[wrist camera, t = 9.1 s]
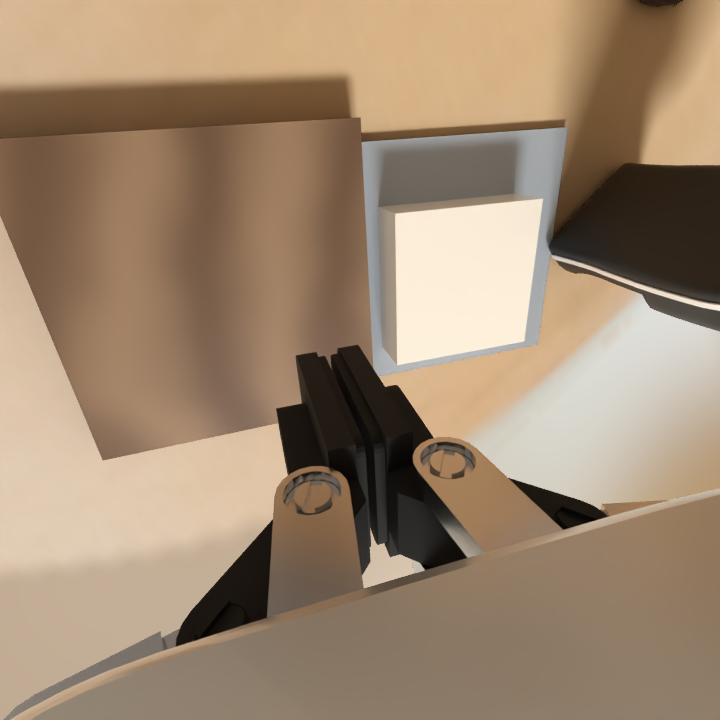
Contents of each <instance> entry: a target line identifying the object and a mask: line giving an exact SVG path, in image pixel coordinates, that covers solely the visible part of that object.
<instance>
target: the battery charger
mask: <svg viewBox="0 0 720 720" xmlns="http://www.w3.org/2000/svg"><path fill="white" fill-rule="evenodd" d="M549 250H550V255H551V256H552V258H553V259H555V260H556V261H557V262H558V264H559V265H560V266H561V267H562V268H563V269H565V270H567V271H569V272H572V273H575V274H576V273H584V274H589V275H593V276H596V277H599V278H602V279H604V280H607V281H609V282H611V283H614V284H616V285H619V286H622V287H624V288H627V289H629V290H632V291H635V292H637V293H640V294H642V295H643V297H644V299H645V301H646V302H647V304H648V305H649V306H650V308H652V309H654V310H656V311H659V312H662V313H664V314H667V315H670V316H673V317H676V318H679V319H682V320H685V321H688V322H691V323H694V324H697V325H700V326H704V327H707V328H710V329H714V330H717V331H720V165H683V166H675V165H649V164H634V163H626V164H623V165H622V166H621V167H620V168H619V169H618V170H617V171H616V172H615V173H614V174H613V175H612V176H611V177H610V178H609V179H608V180H607V181H606V182H605V183H604V184H603V185H602V187H601V188H600V189H599V190H598V191H597V192H596V193H595V194H594V195H593V196H592V197H591V198H590V199H589V200H588V201H587V202H586V203H585V204H584V205H583V206H582V208H581V209H580V210H579V211H578V212H577V213H576V214H575V215H574V216H573V217H572V219H571V220H570V221H569V222H568V223H567V224H566V225H565V226H564V227H563V229H562V230H561V231H560V232H559V233H558V234H557V235H556V237H555V238H554V239H553V240H552V241H551V242H550V244H549Z"/></svg>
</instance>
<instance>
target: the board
mask: <svg viewBox="0 0 720 720" xmlns="http://www.w3.org/2000/svg"><path fill="white" fill-rule="evenodd" d="M0 216H1V218H2V221H3V223H4V226H5V228H6V230H7V233H8V235H9V238H10V240H11V242H12V245H13V247H14V249H15V252H16V254H17V257H18V259H19V261H20V264H21V266H22V269H23V271H24V273H25V276H26V278H27V280H28V283H29V285H30V288H31V290H32V292H33V295H34V297H35V300H36V302H37V304H38V307H39V309H40V311H41V314H42V316H43V319H44V321H45V323H46V326H47V328H48V331H49V333H50V335H51V338H52V340H53V342H54V345H55V347H56V350H57V352H58V354H59V357H60V359H61V362H62V364H63V366H64V369H65V371H66V374H67V376H68V378H69V381H70V383H71V385H72V388H73V390H74V393H75V395H76V397H77V400H78V402H79V405H80V407H81V409H82V412H83V414H84V416H85V419H86V421H87V424H88V426H89V428H90V431H91V433H92V436H93V438H94V440H95V443H96V445H97V447H98V450H99V452H100V455H101V457H102V459H103V460H107V459H112V458H117V457H121V456H126V455H131V454H135V453H140V452H145V451H149V450H154V449H159V448H163V447H168V446H173V445H177V444H182V443H187V442H191V441H196V440H201V439H205V438H210V437H215V436H220V435H224V434H229V433H234V432H238V431H243V430H248V429H252V428H257V427H262V426H266V425H271V424H276V423H278V418H277V412H276V408H281V407H286V406H291V405H296V404H301V403H302V401H301V394H300V386H299V379H298V372H297V365H296V355H301V354H306V353H312V352H317V354H318V357H320V356H326V358H327V361H328V363H329V365H330V367H331V355H332V354H337V349H338V348H341V347H347V346H353V345H359V347H360V348H361V350H362V351H363V353H364V355H365V356H366V358H367V359H368V361H369V362H370V364H371V366H372V367H373V352H372V332H371V313H370V294H369V275H368V255H367V236H366V217H365V198H364V178H363V159H362V140H361V120H360V118H343V119H326V120H309V121H292V122H275V123H258V124H241V125H224V126H207V127H190V128H173V129H156V130H139V131H122V132H105V133H88V134H71V135H54V136H37V137H20V138H3V139H0ZM331 369H332V368H331Z"/></svg>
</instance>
